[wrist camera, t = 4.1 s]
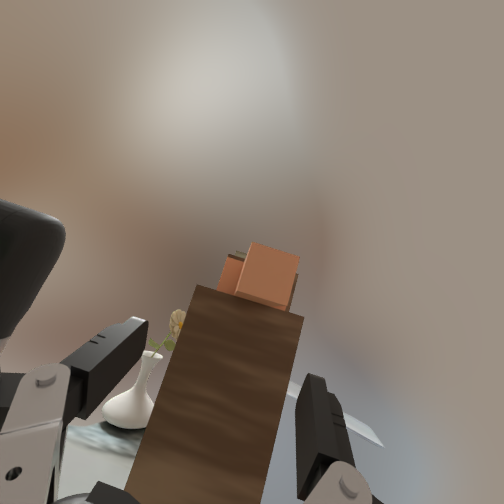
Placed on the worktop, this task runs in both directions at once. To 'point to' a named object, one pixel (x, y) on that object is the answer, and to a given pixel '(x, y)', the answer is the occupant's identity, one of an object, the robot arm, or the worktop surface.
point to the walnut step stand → (218, 403)
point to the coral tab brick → (261, 276)
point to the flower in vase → (141, 386)
